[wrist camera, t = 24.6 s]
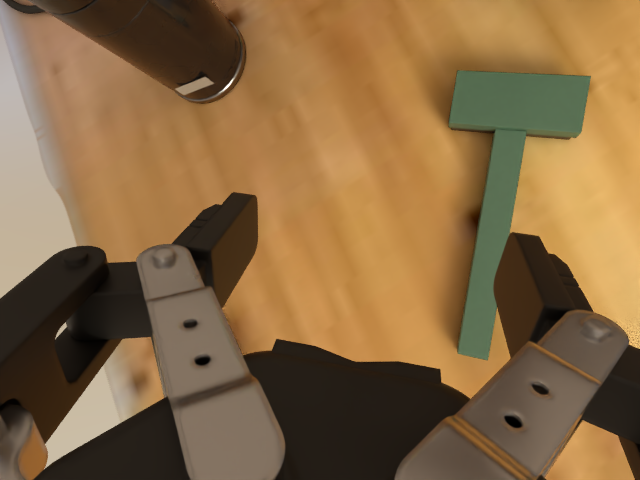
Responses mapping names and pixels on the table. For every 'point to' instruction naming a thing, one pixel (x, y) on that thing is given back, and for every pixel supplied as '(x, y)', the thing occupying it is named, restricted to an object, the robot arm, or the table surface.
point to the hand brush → (506, 168)
